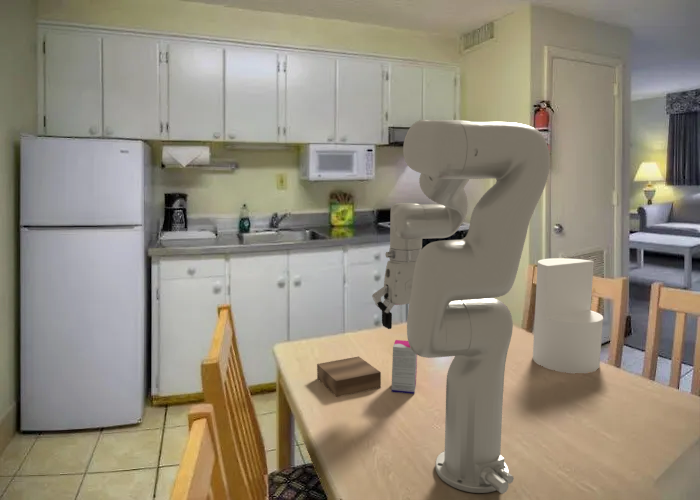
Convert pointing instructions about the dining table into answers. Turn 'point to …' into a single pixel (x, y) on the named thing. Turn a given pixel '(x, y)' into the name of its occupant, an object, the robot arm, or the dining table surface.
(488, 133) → the robot arm
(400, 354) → the supplement box
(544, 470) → the dining table surface
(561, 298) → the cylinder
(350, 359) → the walnut riser block
